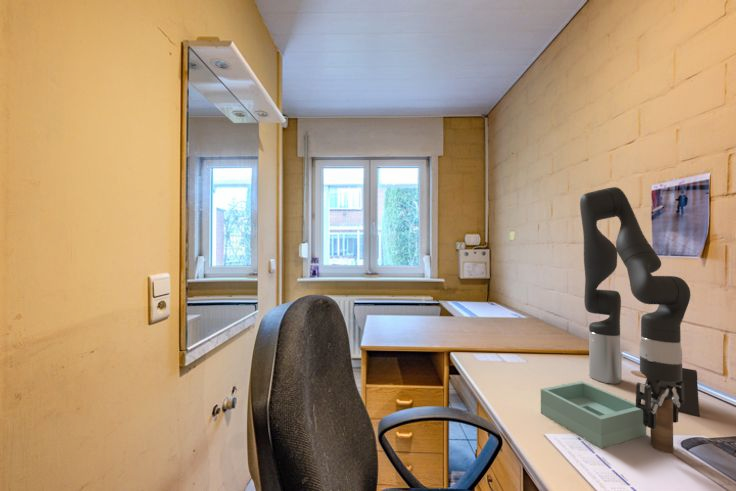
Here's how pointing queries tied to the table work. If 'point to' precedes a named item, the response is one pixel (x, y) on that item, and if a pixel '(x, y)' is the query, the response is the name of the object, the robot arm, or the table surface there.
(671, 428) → the walnut peg
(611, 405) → the bore box
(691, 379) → the phone stand
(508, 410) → the table surface
